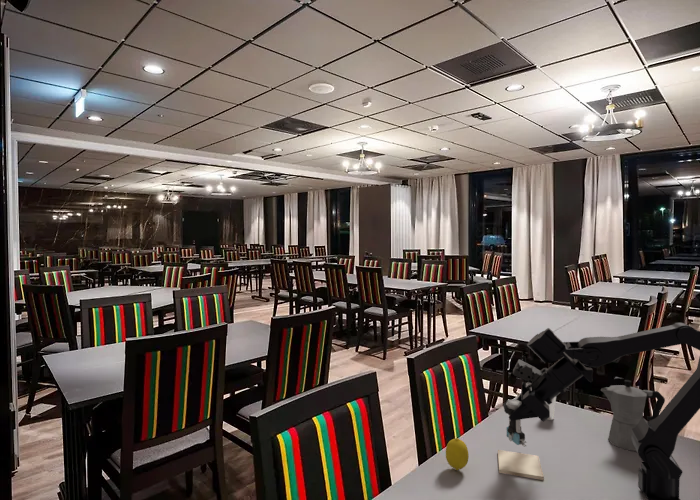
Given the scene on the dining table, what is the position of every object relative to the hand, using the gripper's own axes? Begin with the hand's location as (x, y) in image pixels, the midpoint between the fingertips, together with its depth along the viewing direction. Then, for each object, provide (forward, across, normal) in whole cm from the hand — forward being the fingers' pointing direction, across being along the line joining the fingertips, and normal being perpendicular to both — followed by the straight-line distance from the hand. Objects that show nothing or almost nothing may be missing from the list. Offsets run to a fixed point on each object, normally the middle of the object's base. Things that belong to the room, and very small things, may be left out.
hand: (510, 414), depth 104 cm
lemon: (+18, +8, 0) cm, 20 cm away
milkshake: (+2, -34, +16) cm, 38 cm away
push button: (+4, 0, +6) cm, 7 cm away
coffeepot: (-12, -25, +31) cm, 42 cm away
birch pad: (+8, 0, +10) cm, 13 cm away
